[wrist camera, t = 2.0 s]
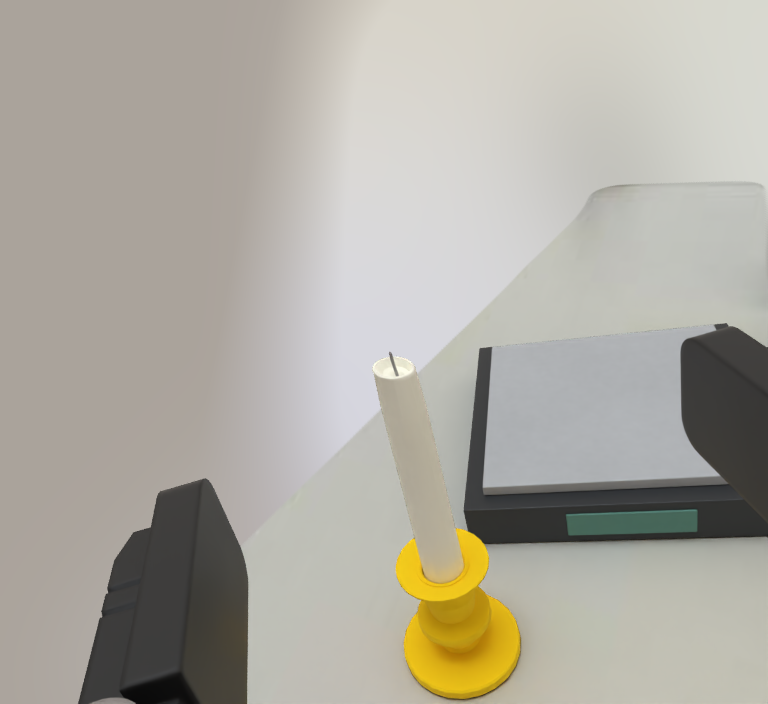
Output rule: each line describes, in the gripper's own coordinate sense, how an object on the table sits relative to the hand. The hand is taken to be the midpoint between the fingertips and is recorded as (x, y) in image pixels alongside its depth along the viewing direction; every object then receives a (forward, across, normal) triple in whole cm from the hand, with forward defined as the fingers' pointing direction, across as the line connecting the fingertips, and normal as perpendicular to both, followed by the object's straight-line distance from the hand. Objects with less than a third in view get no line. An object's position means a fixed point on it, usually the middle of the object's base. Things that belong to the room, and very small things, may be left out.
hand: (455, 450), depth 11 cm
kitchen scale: (+22, -12, +20) cm, 32 cm away
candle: (+11, 0, +20) cm, 23 cm away
